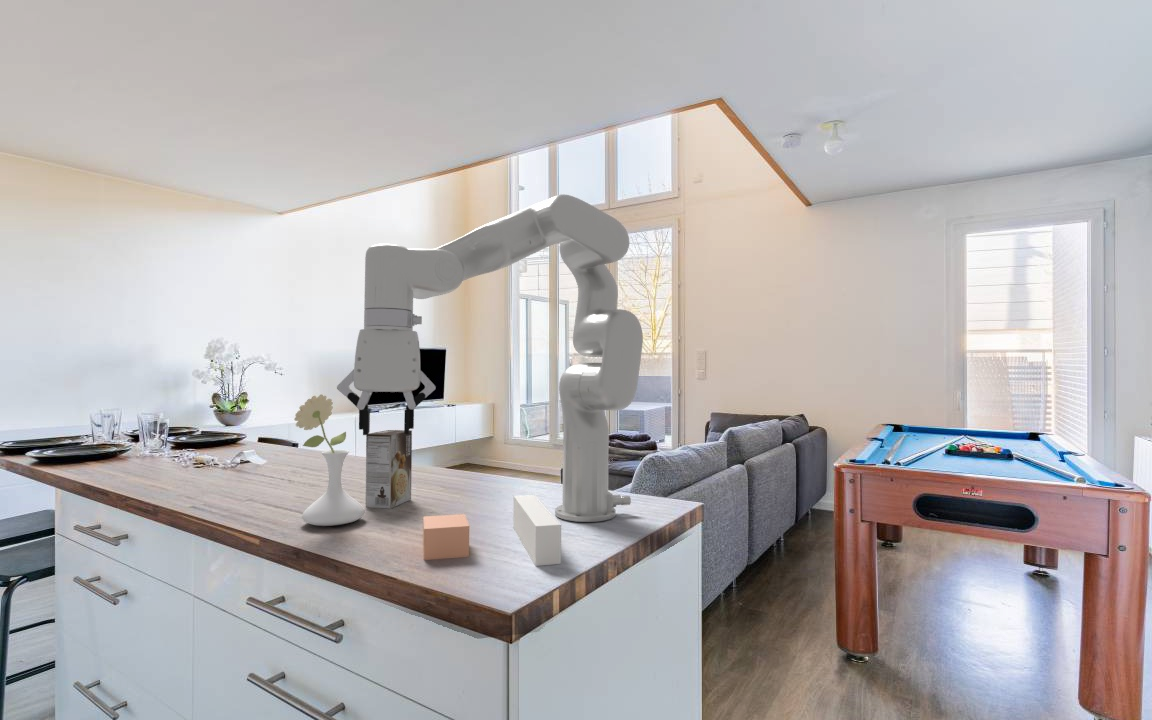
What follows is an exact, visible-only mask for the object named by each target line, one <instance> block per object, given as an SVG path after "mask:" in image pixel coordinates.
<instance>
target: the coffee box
mask: <svg viewBox="0 0 1152 720" xmlns="http://www.w3.org/2000/svg"><path fill="white" fill-rule="evenodd" d="M412 433H413V430H411V429H409V434H404V430H403V429H402V430H401V429H387V430H382V431H381V430H380V431H376V432H371V433H370V432H369V434H367V435H365V437H366V439H365V440H366V441H365V443H366V444H365V445H366V446H365V451H366V452H365V453H366V454H365V508H371V509H373V508H375V509H389V510H390V509H393V508H396V507H397V506H400V505H402V504H405V503H406V502H409V501H411V500H412V468H413V467H412V466H413V465H412V460H413V459H412V457H413V456H412V452H413V446H412V445H413V441H412V439H413V434H412Z"/></svg>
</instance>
